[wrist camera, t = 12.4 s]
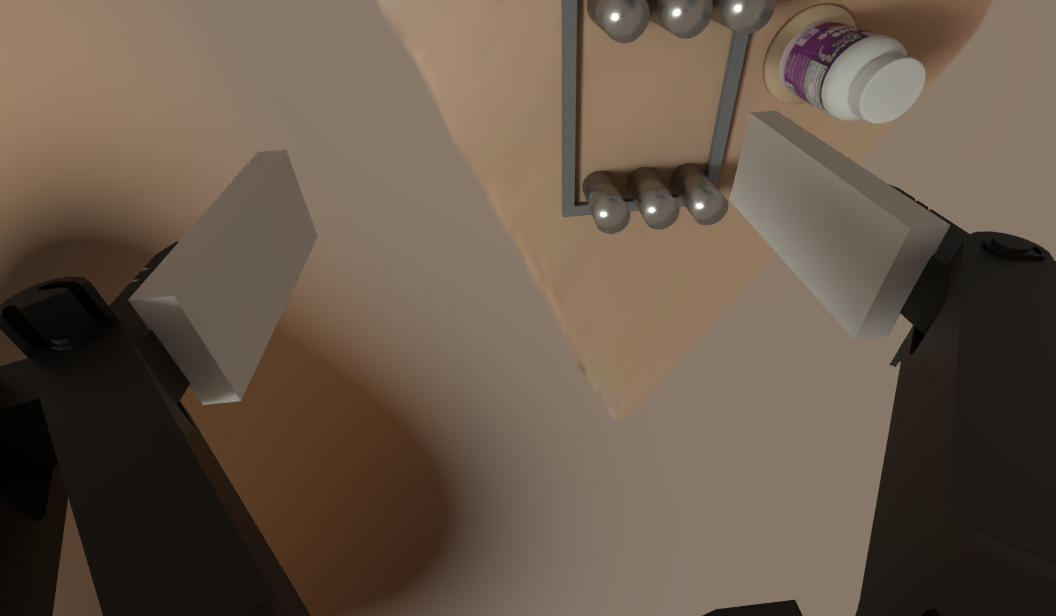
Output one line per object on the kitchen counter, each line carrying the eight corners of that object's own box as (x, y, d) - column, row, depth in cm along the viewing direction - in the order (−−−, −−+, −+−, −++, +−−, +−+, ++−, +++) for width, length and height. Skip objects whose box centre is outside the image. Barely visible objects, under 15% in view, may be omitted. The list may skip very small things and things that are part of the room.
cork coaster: (776, 7, 36) (779, 8, 36) (868, 1, 37) (871, 1, 36) (753, 105, 41) (755, 107, 40) (835, 99, 41) (838, 100, 41)
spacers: (587, -19, 34) (605, -8, 30) (739, -29, 35) (780, -20, 30) (582, 201, 45) (595, 235, 40) (698, 191, 45) (724, 223, 41)
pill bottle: (849, 7, 36) (948, 30, 29) (842, 79, 40) (931, 117, 32) (775, 34, 37) (854, 64, 30) (775, 103, 40) (846, 146, 33)
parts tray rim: (561, -37, 33) (563, -36, 33) (762, -50, 34) (766, -49, 34) (562, 213, 45) (563, 217, 45) (710, 201, 46) (713, 204, 46)
